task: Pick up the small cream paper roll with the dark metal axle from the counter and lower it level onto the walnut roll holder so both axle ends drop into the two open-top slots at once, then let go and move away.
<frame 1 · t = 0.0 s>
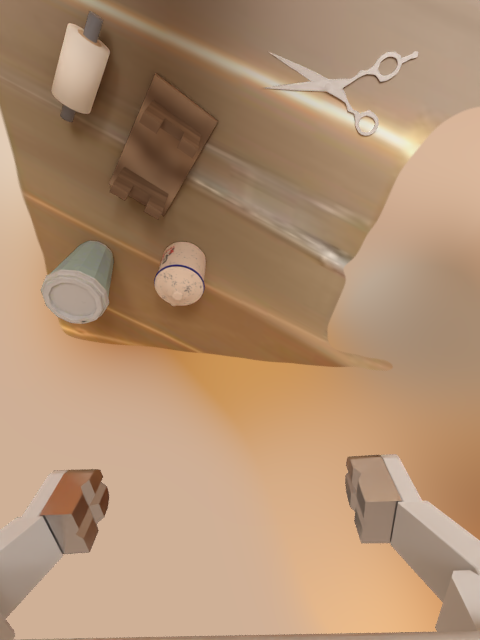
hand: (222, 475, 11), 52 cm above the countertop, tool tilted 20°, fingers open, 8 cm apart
paper roll: (80, 71, 43), point 2 cm above the countertop
disposable coffee cup: (98, 253, 65), on the countertop
scissors: (332, 83, 47), on the countertop
teacup with lid: (183, 264, 67), on the countertop
roll holder: (160, 153, 52), on the countertop
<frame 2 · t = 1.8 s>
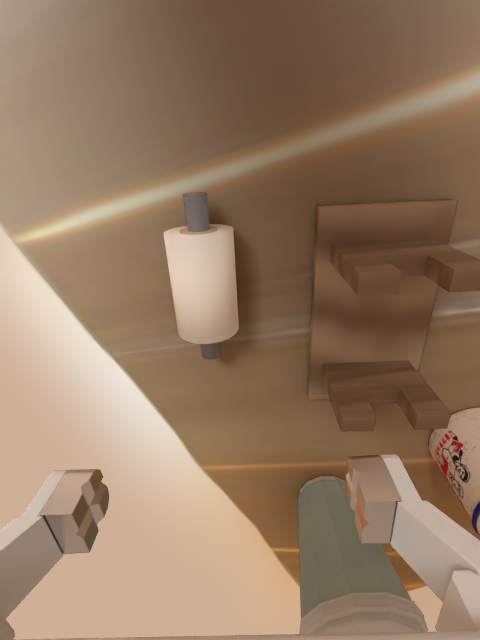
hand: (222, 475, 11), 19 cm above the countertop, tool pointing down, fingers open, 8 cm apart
paper roll: (204, 282, 26), point 2 cm above the countertop, tilted 21°
disposable coffee cup: (326, 489, 40), on the countertop
teacup with lid: (467, 444, 36), on the countertop
roll holder: (368, 309, 29), on the countertop
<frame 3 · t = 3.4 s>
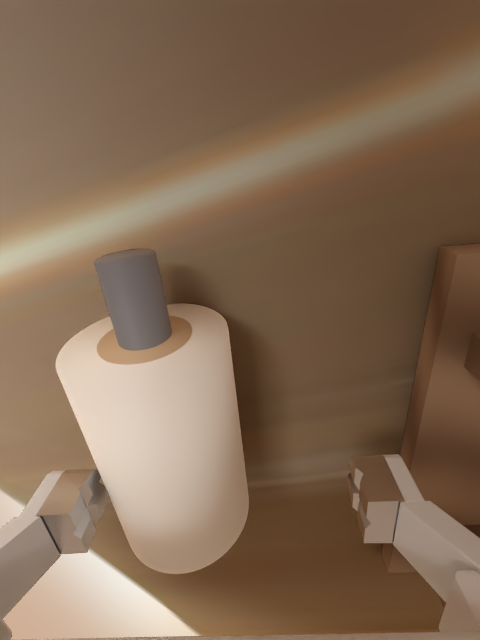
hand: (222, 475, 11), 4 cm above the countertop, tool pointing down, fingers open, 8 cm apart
paper roll: (170, 434, 12), point 2 cm above the countertop, tilted 84°, touching gripper
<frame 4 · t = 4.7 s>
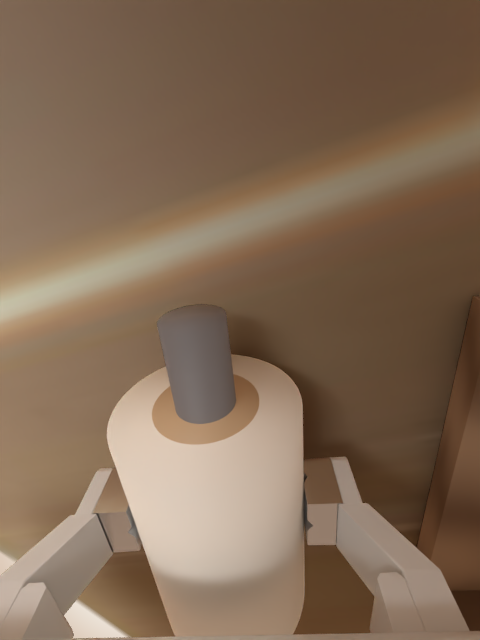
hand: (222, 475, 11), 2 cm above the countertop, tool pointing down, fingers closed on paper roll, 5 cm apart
paper roll: (223, 505, 10), point 2 cm above the countertop, tilted 51°, touching gripper
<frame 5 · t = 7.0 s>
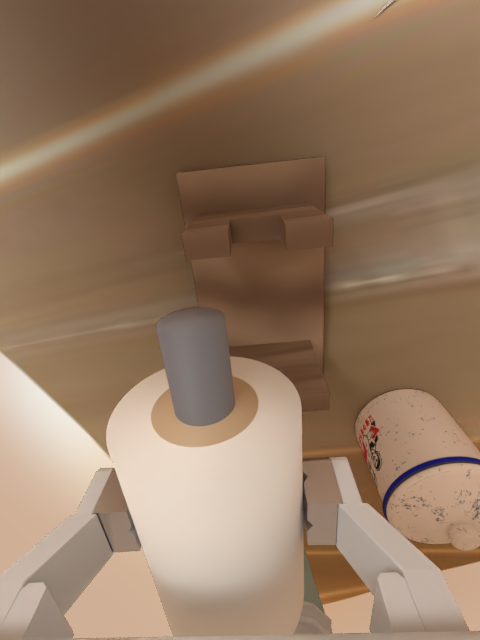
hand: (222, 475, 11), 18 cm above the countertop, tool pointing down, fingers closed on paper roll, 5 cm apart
paper roll: (222, 506, 10), point 19 cm above the countertop, tilted 52°, touching gripper
disposable coffee cup: (257, 485, 37), on the countertop
teacup with lid: (398, 430, 34), on the countertop
roll holder: (259, 286, 27), on the countertop
when the fingers open (6 cm above the countertop, at t = 9.7 s): paper roll stays where it is, resting on roll holder.
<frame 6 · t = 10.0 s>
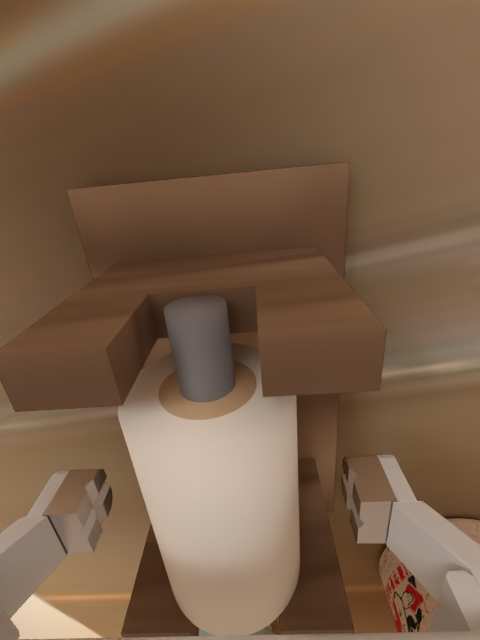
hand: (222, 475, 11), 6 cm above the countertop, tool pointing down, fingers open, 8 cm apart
paper roll: (223, 482, 11), point 6 cm above the countertop, tilted 54°, touching roll holder
disposable coffee cup: (236, 622, 27), on the countertop
teacup with lid: (442, 565, 23), on the countertop
roll holder: (231, 374, 16), on the countertop
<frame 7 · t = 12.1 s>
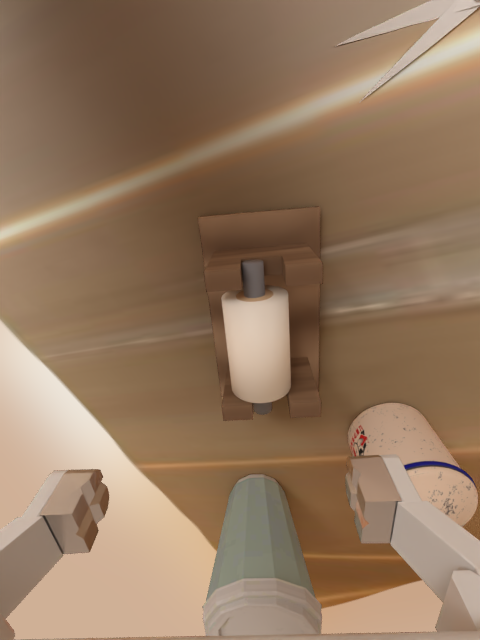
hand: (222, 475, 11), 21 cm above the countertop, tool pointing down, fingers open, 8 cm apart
paper roll: (258, 342, 26), point 6 cm above the countertop, tilted 100°, touching roll holder
disposable coffee cup: (259, 488, 41), on the countertop
teacup with lid: (387, 440, 37), on the countertop
roll holder: (264, 310, 31), on the countertop
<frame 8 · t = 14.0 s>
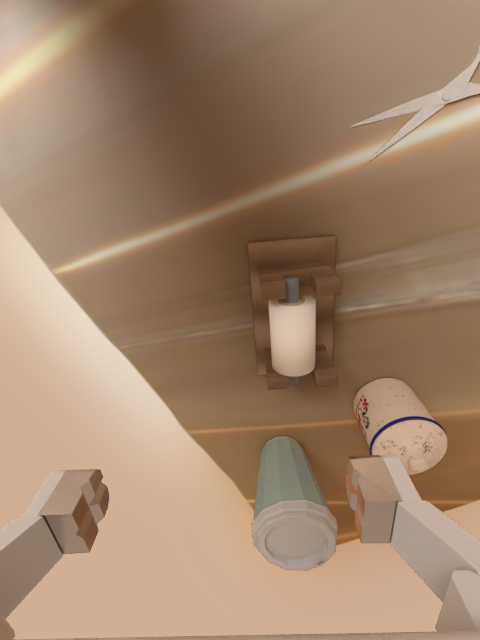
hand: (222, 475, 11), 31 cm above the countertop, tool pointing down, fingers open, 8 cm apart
paper roll: (292, 334, 37), point 6 cm above the countertop, tilted 100°, touching roll holder
disposable coffee cup: (283, 448, 52), on the countertop
scissors: (448, 90, 33), on the countertop
teacup with lid: (383, 407, 49), on the countertop
roll holder: (292, 309, 42), on the countertop
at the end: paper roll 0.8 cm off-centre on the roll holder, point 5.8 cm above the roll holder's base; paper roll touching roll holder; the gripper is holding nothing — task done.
